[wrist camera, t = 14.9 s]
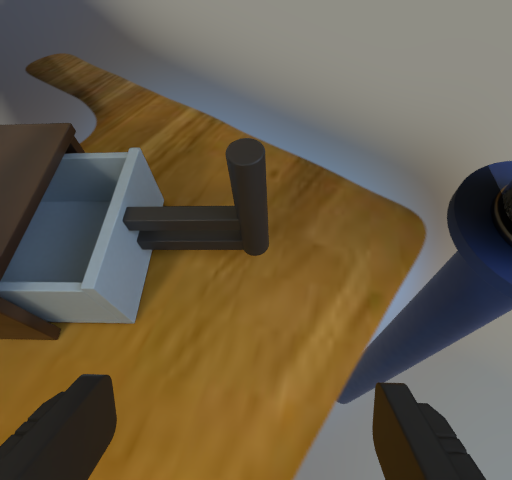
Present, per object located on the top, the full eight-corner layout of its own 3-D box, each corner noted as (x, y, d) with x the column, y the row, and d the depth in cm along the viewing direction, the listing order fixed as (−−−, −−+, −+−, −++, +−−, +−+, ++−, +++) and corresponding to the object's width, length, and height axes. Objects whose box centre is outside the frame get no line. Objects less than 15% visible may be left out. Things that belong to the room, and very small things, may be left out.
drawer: (269, 198, 28) (266, 85, 19) (268, 325, 22) (262, 245, 13) (17, 201, 29) (-95, 97, 21) (-49, 320, 23) (-247, 246, 15)
